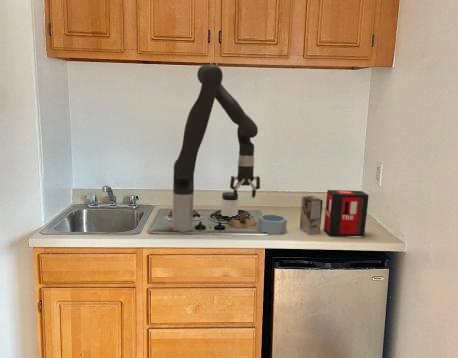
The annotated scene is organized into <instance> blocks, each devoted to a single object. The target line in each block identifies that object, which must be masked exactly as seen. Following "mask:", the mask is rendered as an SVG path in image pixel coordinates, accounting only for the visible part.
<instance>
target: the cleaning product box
mask: <svg viewBox="0 0 458 358" xmlns="http://www.w3.org/2000/svg"><path fill="white" fill-rule="evenodd" d="M326 191H327V192H326V201H325V202H326V204H325V212H324V214H325V215H324V222H323V225H324V226H323V231H324V233H325V234H326V235H327V236H328V237H329V238H331V237H335V238H337V237H339V238H348V237H347V236H364V237H365V232H366V222H367V213H368V205H369V196H370V195H369V194H367V193H366V192H364V191H362V190H341V189H339V190H337V189H327V190H326Z"/></svg>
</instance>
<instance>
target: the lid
mask: <svg viewBox="0 0 458 358" xmlns="http://www.w3.org/2000/svg"><path fill="white" fill-rule="evenodd" d="M239 216H240V217H239V219H240V221H239V220H235V219H236V218H232V219H230V220H229V221H228V224H227V225H228V226H230V227H232V228H235V227H236V229H240V228H250V227H254V226H256V225H257V226H258V222H257V221H255V220H253V219H249V218H247V213H245V212H240V214H239ZM257 226H256V227H257ZM254 228H255V227H254ZM250 229H251V228H250Z"/></svg>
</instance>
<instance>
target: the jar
mask: <svg viewBox="0 0 458 358" xmlns="http://www.w3.org/2000/svg"><path fill="white" fill-rule="evenodd" d="M239 202H240V201H239V194H238V193H237V198H235V197H234V191H233V192H231V191H226V192H222V194H221V202H220V203H221V204H220V206H221V207H220V216H221V215H222V216H228V217H232V216H236V215H238V214H239ZM222 216H221V217H222ZM238 216H239V215H238Z"/></svg>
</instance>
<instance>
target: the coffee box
mask: <svg viewBox="0 0 458 358" xmlns="http://www.w3.org/2000/svg"><path fill="white" fill-rule="evenodd" d="M323 203H324V202H323V199H320V198H319V197H316V196H313V195H308V196H307V195H306V196H301V206H300V207H301V209H300V218H299V219H300V220H299V221H300V222H299V229H300V230H301V231H303V232H304V233H306V234H308V235H314V234H317V235H318V234H320V233H321V227H322V225H321V223H322V214H323V213H322V212H323Z"/></svg>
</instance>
